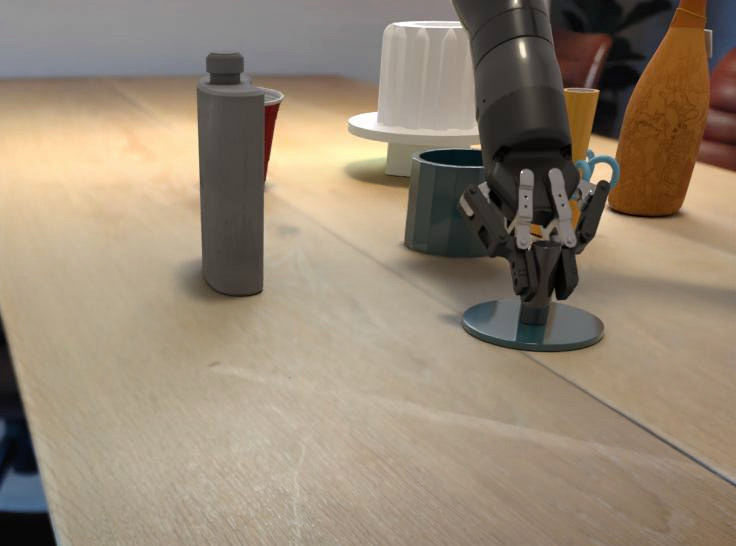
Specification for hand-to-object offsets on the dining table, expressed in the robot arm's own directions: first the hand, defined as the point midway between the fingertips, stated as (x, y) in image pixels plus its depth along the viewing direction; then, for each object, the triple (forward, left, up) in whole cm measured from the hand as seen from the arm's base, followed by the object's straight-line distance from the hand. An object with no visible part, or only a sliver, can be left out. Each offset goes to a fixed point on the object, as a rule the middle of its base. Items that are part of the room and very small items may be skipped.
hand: (548, 295), depth 78 cm
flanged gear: (+36, -66, -4) cm, 75 cm away
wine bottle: (+2, -57, -4) cm, 57 cm away
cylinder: (+9, -39, -4) cm, 40 cm away
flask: (+34, -4, -4) cm, 35 cm away
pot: (+17, -26, -4) cm, 31 cm away
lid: (+1, -2, -3) cm, 4 cm away
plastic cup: (+55, -43, -4) cm, 70 cm away
